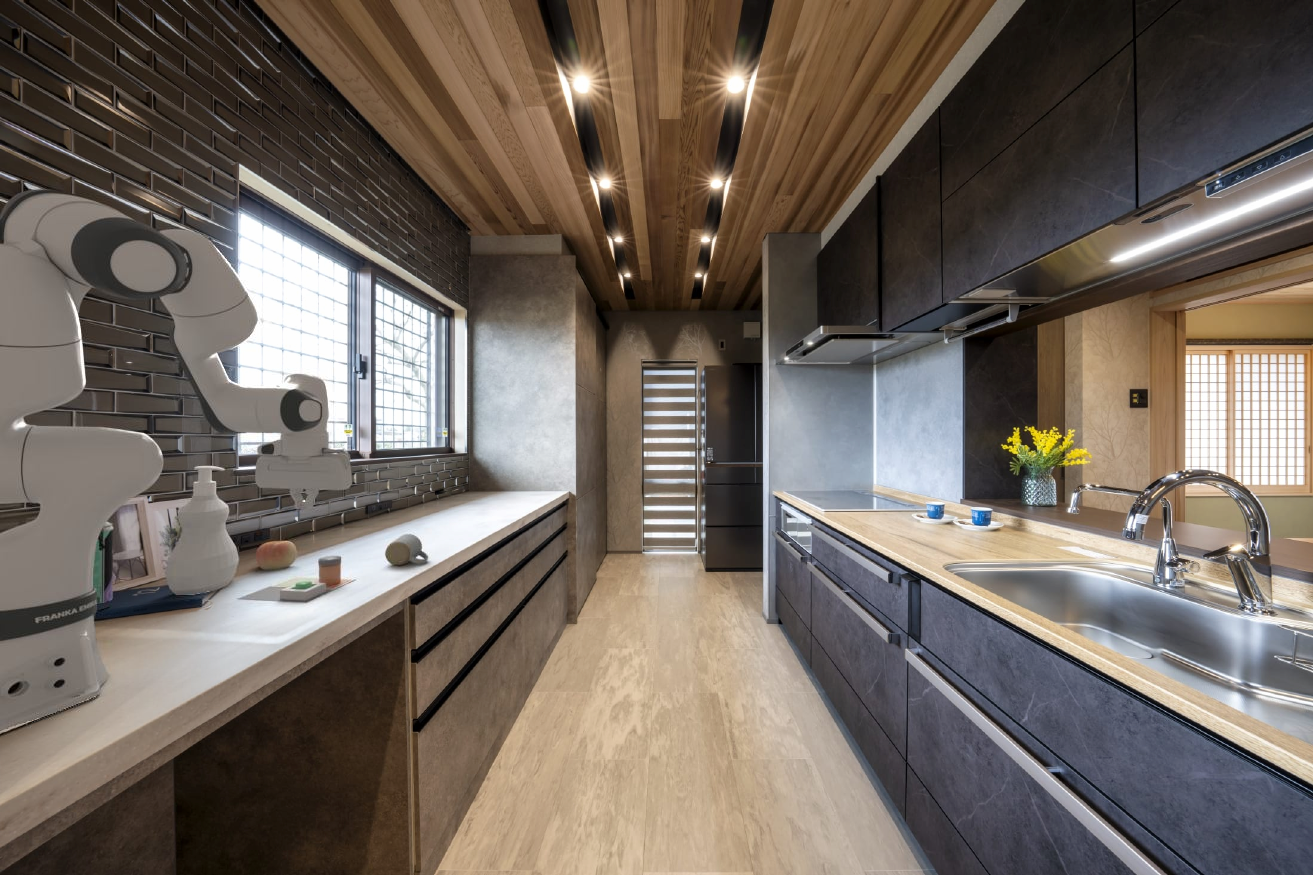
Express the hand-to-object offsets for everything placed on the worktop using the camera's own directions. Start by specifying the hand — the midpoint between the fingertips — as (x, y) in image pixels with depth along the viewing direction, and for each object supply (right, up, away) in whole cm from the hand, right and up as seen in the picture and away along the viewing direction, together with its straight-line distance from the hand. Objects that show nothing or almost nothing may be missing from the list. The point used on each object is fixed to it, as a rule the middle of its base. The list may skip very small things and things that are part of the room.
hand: (304, 508), depth 109 cm
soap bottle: (-26, -20, +4) cm, 33 cm away
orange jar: (0, -19, +9) cm, 21 cm away
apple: (-23, -20, +22) cm, 38 cm away
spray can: (-39, -20, -7) cm, 44 cm away
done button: (0, -19, 0) cm, 19 cm away
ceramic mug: (+7, -21, +33) cm, 39 cm away
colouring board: (-4, -21, +5) cm, 22 cm away
